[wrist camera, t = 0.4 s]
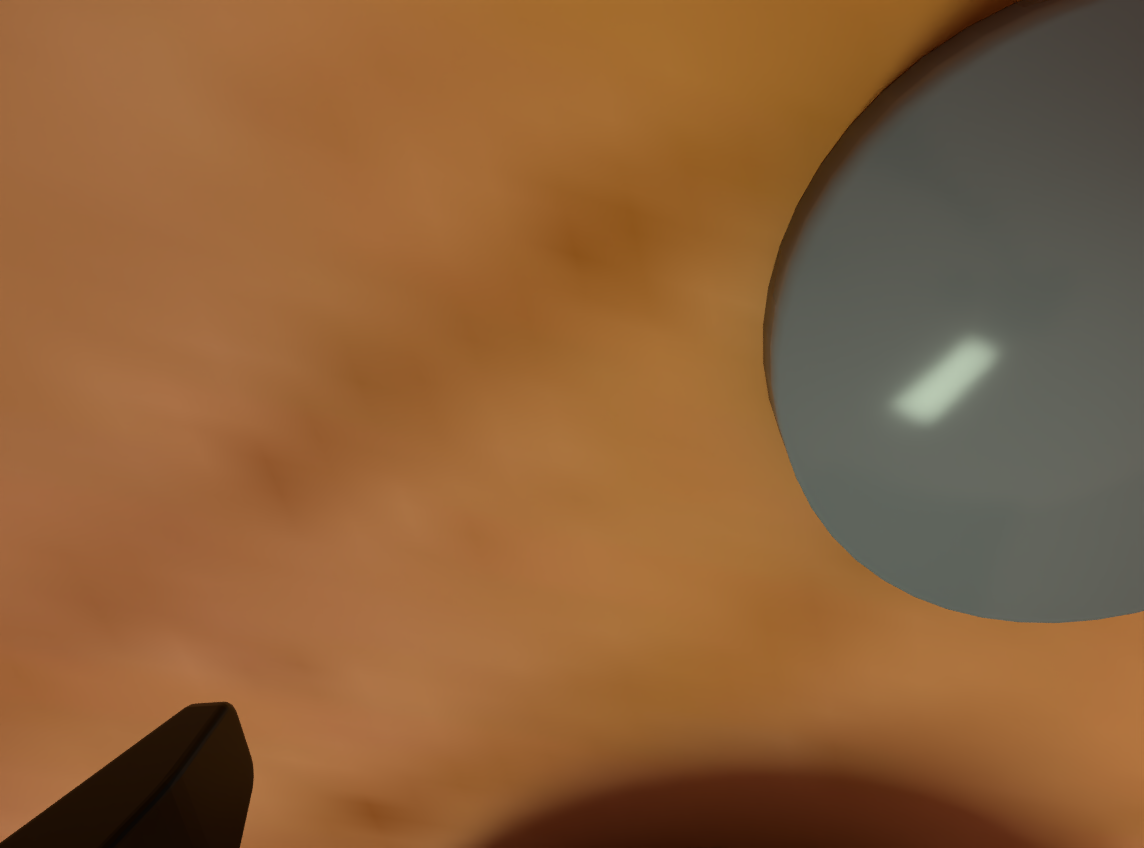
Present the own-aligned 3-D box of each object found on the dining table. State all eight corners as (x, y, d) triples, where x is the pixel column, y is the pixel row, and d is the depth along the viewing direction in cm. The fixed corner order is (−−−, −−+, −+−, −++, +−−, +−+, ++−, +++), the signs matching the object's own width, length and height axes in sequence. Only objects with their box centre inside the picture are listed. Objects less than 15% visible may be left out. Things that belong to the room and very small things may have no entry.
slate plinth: (646, 217, 22) (654, 251, 20) (1351, -199, 18) (1435, -202, 16) (909, 650, 28) (932, 705, 26) (1477, 403, 24) (1548, 448, 22)
